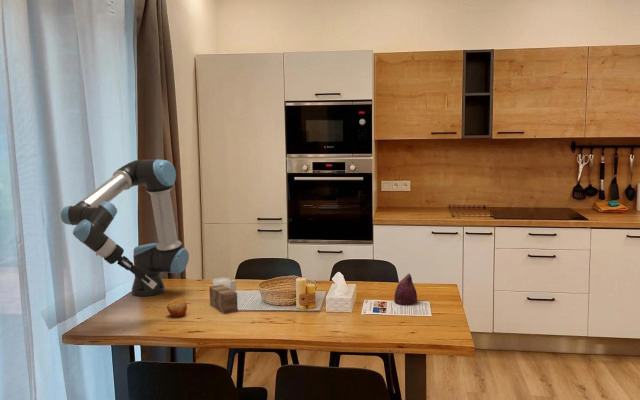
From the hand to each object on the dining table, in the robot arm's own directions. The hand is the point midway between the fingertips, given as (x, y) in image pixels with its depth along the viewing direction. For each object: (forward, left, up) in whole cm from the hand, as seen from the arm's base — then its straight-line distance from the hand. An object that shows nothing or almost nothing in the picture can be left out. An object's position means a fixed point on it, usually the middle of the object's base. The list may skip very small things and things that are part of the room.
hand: (154, 286), depth 239 cm
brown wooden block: (+1, +29, -14) cm, 32 cm away
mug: (-12, +35, -14) cm, 40 cm away
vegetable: (+41, +98, -14) cm, 107 cm away
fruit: (0, +9, -14) cm, 17 cm away
